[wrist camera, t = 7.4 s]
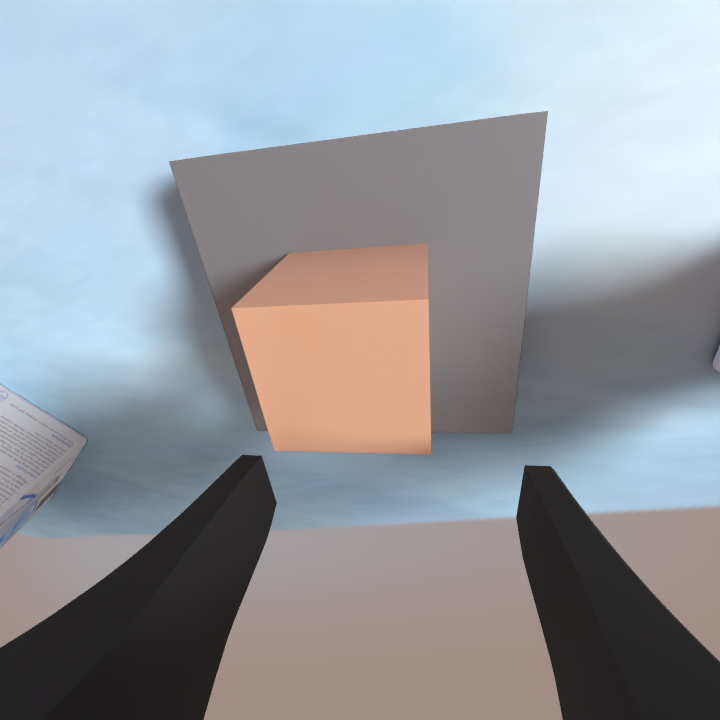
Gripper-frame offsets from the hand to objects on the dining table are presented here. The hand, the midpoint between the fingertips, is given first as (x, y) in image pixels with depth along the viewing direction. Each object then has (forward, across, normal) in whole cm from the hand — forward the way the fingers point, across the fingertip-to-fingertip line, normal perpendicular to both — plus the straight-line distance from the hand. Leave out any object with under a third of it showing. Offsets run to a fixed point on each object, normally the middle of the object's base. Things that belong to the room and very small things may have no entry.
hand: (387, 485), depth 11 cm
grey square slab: (+10, +1, -2) cm, 11 cm away
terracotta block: (+6, +1, -2) cm, 7 cm away
